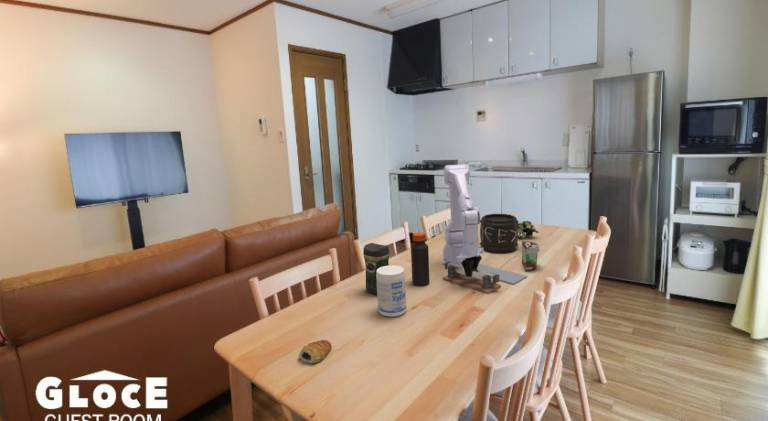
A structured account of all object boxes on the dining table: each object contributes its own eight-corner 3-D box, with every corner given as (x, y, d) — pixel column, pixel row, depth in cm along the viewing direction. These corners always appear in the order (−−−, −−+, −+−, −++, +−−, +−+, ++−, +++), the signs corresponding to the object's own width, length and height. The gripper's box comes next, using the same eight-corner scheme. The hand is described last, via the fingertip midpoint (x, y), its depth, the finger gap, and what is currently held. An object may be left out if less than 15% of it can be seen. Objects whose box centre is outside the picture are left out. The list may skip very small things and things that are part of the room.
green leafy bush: (527, 246, 208) (542, 229, 204) (522, 248, 199) (537, 230, 194) (510, 232, 212) (524, 215, 208) (505, 234, 203) (519, 216, 199)
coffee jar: (395, 290, 148) (392, 243, 144) (381, 297, 142) (378, 249, 138) (376, 284, 154) (373, 239, 150) (362, 291, 148) (359, 245, 145)
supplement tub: (398, 320, 125) (396, 276, 122) (373, 314, 129) (370, 273, 126) (411, 307, 133) (409, 266, 130) (387, 302, 138) (384, 263, 135)
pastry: (320, 343, 114) (319, 331, 113) (338, 349, 110) (337, 337, 110) (297, 360, 106) (295, 347, 105) (315, 367, 103) (314, 354, 102)
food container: (541, 272, 157) (542, 249, 155) (525, 272, 158) (526, 249, 156) (536, 262, 168) (536, 240, 166) (521, 262, 170) (521, 240, 168)
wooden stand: (442, 279, 155) (442, 266, 154) (455, 274, 160) (455, 261, 159) (488, 294, 140) (488, 279, 139) (500, 287, 145) (500, 273, 144)
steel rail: (444, 268, 157) (444, 263, 157) (448, 267, 159) (448, 261, 158) (495, 283, 140) (495, 276, 140) (499, 281, 142) (499, 274, 141)
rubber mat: (457, 269, 166) (457, 268, 165) (471, 263, 172) (471, 261, 172) (513, 284, 147) (513, 283, 146) (527, 277, 153) (527, 275, 153)
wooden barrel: (478, 253, 184) (478, 221, 181) (480, 242, 201) (480, 213, 198) (518, 255, 179) (519, 222, 176) (517, 243, 196) (518, 213, 192)
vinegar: (409, 285, 152) (407, 235, 148) (416, 278, 158) (414, 231, 154) (425, 287, 149) (423, 237, 145) (432, 281, 155) (430, 232, 151)
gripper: (467, 247, 139) (468, 283, 142) (490, 238, 148) (490, 272, 151) (451, 244, 144) (452, 278, 147) (474, 235, 154) (475, 268, 156)
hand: (470, 275), depth 149 cm, fingers closed on steel rail, 2 cm apart
